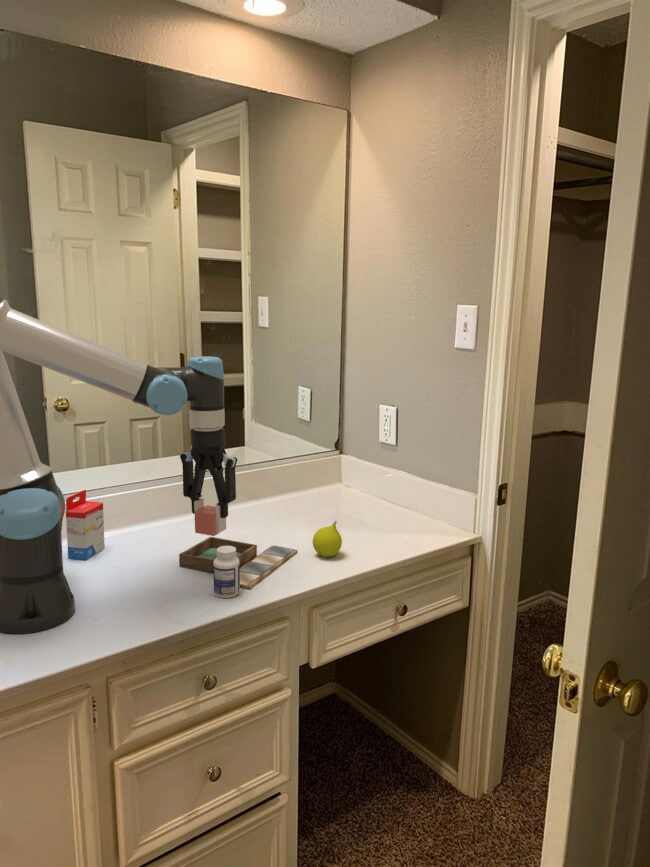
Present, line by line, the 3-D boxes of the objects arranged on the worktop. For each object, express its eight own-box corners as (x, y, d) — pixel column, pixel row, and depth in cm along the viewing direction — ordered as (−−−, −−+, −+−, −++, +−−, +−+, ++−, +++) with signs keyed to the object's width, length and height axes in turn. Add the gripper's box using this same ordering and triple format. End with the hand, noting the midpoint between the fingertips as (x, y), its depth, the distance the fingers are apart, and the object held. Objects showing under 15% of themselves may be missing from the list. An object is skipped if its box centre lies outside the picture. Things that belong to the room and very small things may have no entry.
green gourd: (346, 558, 157) (348, 518, 156) (320, 563, 154) (321, 522, 152) (332, 548, 164) (334, 510, 162) (307, 552, 160) (308, 513, 159)
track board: (249, 589, 139) (249, 586, 139) (221, 583, 141) (221, 580, 141) (297, 552, 160) (297, 549, 160) (272, 547, 163) (272, 544, 163)
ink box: (86, 561, 152) (83, 500, 149) (67, 558, 153) (64, 498, 150) (105, 548, 160) (103, 490, 157) (87, 546, 161) (84, 488, 158)
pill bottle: (224, 585, 140) (224, 542, 139) (244, 591, 138) (244, 547, 136) (208, 594, 136) (207, 550, 134) (229, 600, 133) (229, 555, 131)
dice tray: (228, 576, 145) (228, 563, 145) (179, 566, 150) (179, 554, 149) (256, 556, 157) (256, 545, 156) (210, 548, 162) (210, 536, 161)
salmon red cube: (214, 536, 145) (213, 514, 144) (195, 532, 147) (194, 511, 146) (226, 528, 149) (225, 508, 148) (207, 525, 151) (206, 505, 150)
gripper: (252, 428, 143) (253, 529, 148) (183, 421, 150) (186, 519, 155) (234, 434, 136) (236, 540, 141) (163, 427, 143) (167, 528, 148)
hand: (210, 529), depth 148 cm, fingers closed on salmon red cube, 5 cm apart
